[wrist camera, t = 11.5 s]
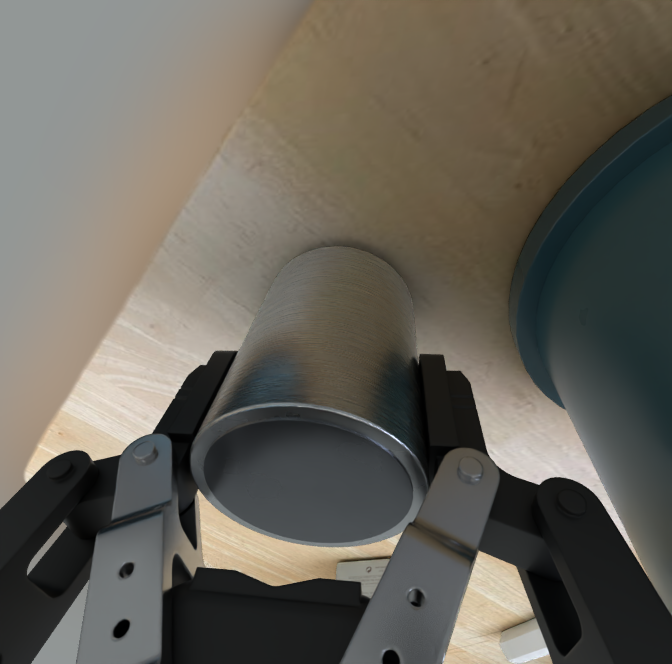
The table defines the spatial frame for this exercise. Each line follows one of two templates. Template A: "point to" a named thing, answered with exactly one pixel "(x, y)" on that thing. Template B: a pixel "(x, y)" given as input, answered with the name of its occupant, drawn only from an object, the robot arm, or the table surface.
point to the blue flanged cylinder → (611, 324)
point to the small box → (362, 573)
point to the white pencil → (523, 642)
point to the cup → (321, 409)
